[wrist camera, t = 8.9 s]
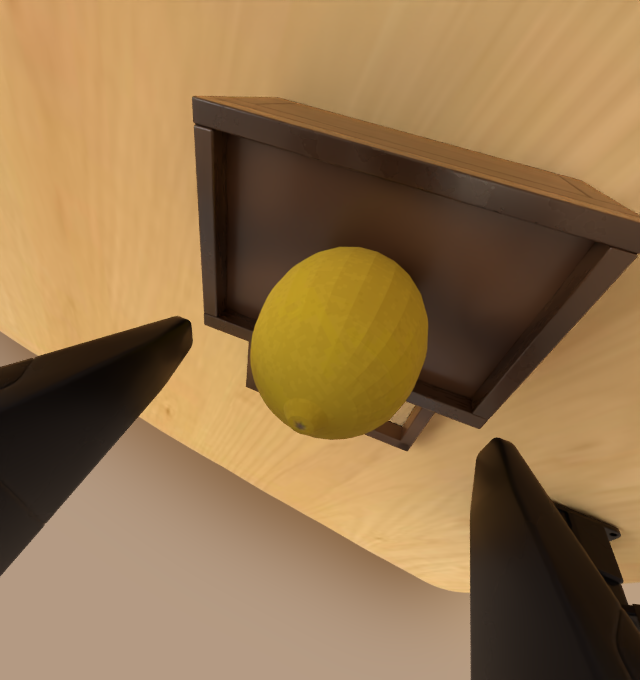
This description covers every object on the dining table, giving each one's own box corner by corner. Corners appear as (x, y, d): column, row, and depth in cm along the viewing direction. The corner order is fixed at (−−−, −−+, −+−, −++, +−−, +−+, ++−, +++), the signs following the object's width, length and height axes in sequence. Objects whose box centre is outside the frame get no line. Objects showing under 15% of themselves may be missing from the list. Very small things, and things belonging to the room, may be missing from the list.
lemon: (464, 280, 12) (477, 452, 6) (373, 354, 16) (327, 511, 10) (354, 186, 12) (250, 279, 6) (285, 286, 15) (176, 409, 9)
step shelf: (409, 437, 28) (399, 517, 22) (253, 375, 29) (210, 436, 24) (583, 180, 14) (663, 229, 9) (276, 96, 16) (191, 95, 11)
